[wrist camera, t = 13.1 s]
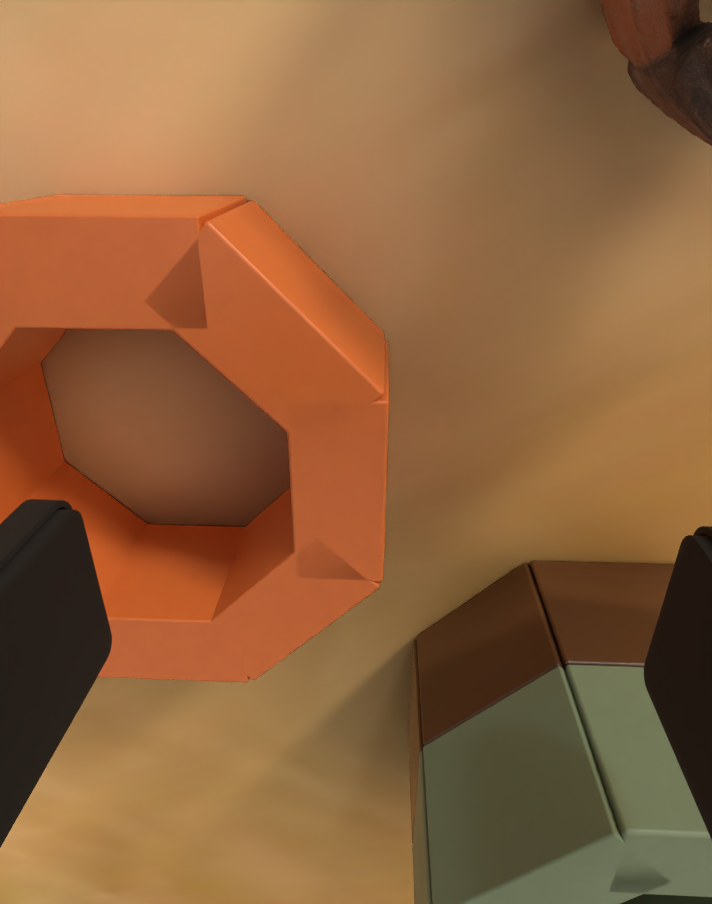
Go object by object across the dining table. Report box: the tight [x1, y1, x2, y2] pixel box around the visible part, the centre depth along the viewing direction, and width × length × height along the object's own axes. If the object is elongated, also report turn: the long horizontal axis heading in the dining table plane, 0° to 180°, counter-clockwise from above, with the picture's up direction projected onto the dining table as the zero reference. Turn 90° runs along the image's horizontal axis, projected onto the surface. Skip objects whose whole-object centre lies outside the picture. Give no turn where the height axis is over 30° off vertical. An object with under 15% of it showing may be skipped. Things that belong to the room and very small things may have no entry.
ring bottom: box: [408, 561, 674, 843], centre depth 19 cm, size 11×11×4 cm
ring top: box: [0, 195, 389, 682], centre depth 15 cm, size 11×11×4 cm
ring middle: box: [413, 664, 712, 904], centre depth 15 cm, size 11×11×4 cm
